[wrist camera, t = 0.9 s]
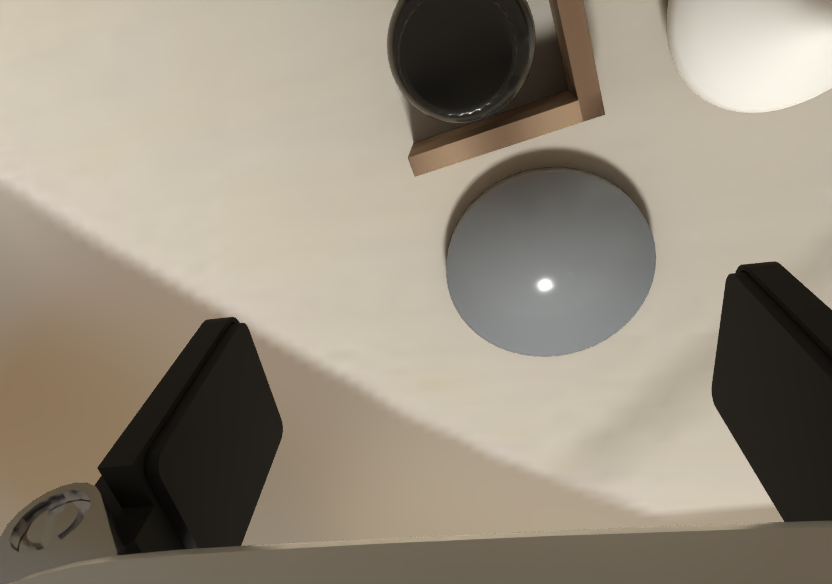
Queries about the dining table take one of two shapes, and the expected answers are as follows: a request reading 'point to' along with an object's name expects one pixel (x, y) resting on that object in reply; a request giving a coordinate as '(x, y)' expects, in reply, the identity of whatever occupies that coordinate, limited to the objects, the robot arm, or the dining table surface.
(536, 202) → the plate
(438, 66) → the supplement bottle
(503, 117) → the brown wooden arch piece
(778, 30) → the flower in vase
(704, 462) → the dining table surface
